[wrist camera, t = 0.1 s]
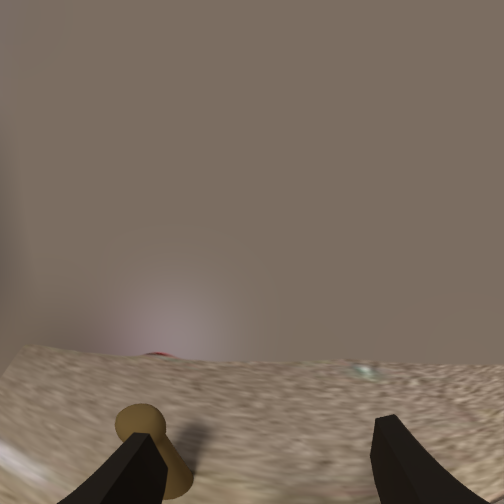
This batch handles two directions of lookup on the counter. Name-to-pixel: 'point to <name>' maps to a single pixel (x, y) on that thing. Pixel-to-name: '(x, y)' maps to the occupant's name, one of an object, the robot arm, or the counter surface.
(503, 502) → the double window frame
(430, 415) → the counter surface
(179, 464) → the cork
